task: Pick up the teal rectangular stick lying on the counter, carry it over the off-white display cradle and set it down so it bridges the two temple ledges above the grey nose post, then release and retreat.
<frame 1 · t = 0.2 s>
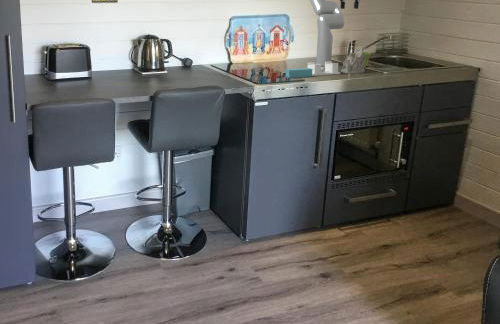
hand: (349, 8, 337), 37 cm above the countertop, tool pointing down, fingers open, 9 cm apart
display cradle: (322, 73, 339), on the countertop
grey irregular blocky piece: (351, 71, 350), on the countertop
teal rectangular stick: (298, 77, 326), on the countertop
plant pot: (362, 67, 366), on the countertop
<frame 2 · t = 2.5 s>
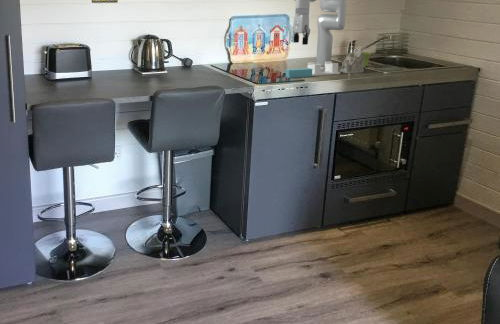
hand: (300, 43, 320), 19 cm above the countertop, tool pointing down, fingers open, 9 cm apart
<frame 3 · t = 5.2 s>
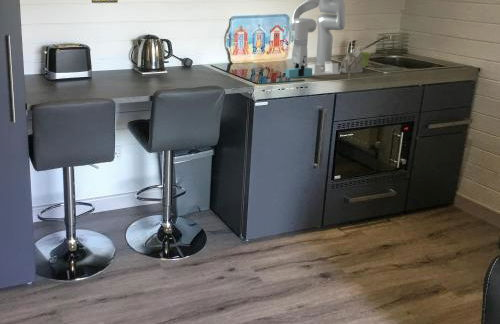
hand: (298, 74, 326), 1 cm above the countertop, tool pointing down, fingers closed on teal rectangular stick, 4 cm apart
teal rectangular stick: (298, 76, 326), on the countertop, touching gripper
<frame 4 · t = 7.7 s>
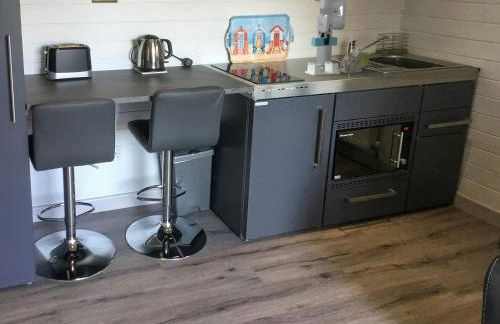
hand: (324, 44, 333), 17 cm above the countertop, tool pointing down, fingers closed on teal rectangular stick, 4 cm apart
teal rectangular stick: (324, 45, 333), point 16 cm above the countertop, touching gripper
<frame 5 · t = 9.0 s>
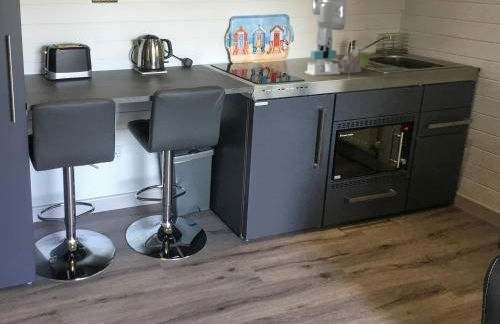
hand: (323, 57, 335), 9 cm above the countertop, tool pointing down, fingers closed on teal rectangular stick, 4 cm apart
teal rectangular stick: (323, 58, 336), point 9 cm above the countertop, touching gripper
when the fingers open (7 cm above the countertop, at t = 10.3 s): teal rectangular stick stays where it is, resting on display cradle.
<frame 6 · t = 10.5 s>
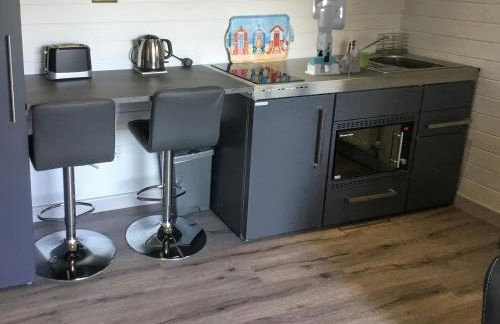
hand: (323, 61, 336), 7 cm above the countertop, tool pointing down, fingers open, 6 cm apart
teal rectangular stick: (323, 64, 337), point 5 cm above the countertop, touching display cradle
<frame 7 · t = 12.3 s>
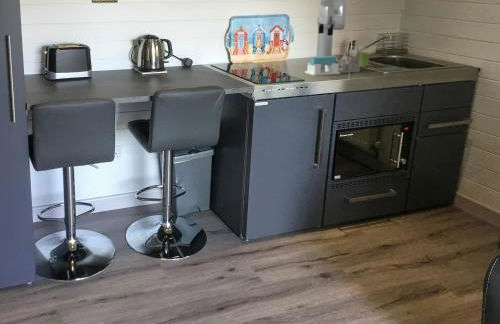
hand: (325, 34, 332), 22 cm above the countertop, tool pointing down, fingers open, 9 cm apart
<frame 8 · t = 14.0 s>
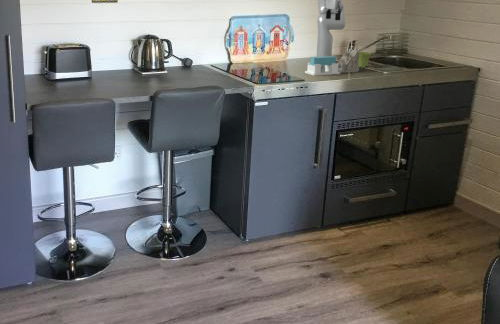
hand: (332, 19, 336), 30 cm above the countertop, tool pointing down, fingers open, 9 cm apart
at the end: teal rectangular stick 0.1 cm off-centre on the display cradle, point 5.0 cm above the display cradle's base; teal rectangular stick tilted 0°; the gripper is holding nothing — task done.
